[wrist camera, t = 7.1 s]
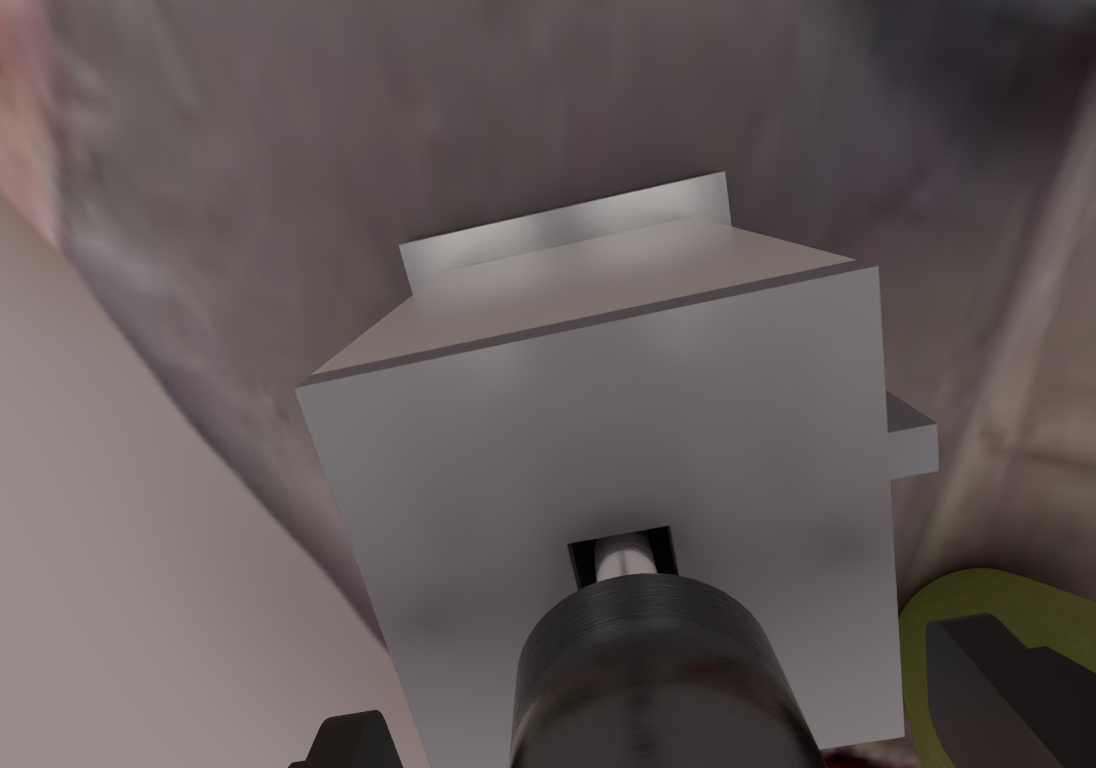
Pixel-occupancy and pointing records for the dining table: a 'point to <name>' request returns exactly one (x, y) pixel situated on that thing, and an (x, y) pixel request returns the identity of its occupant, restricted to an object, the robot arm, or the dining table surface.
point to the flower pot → (1016, 602)
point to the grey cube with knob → (622, 449)
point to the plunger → (653, 677)
